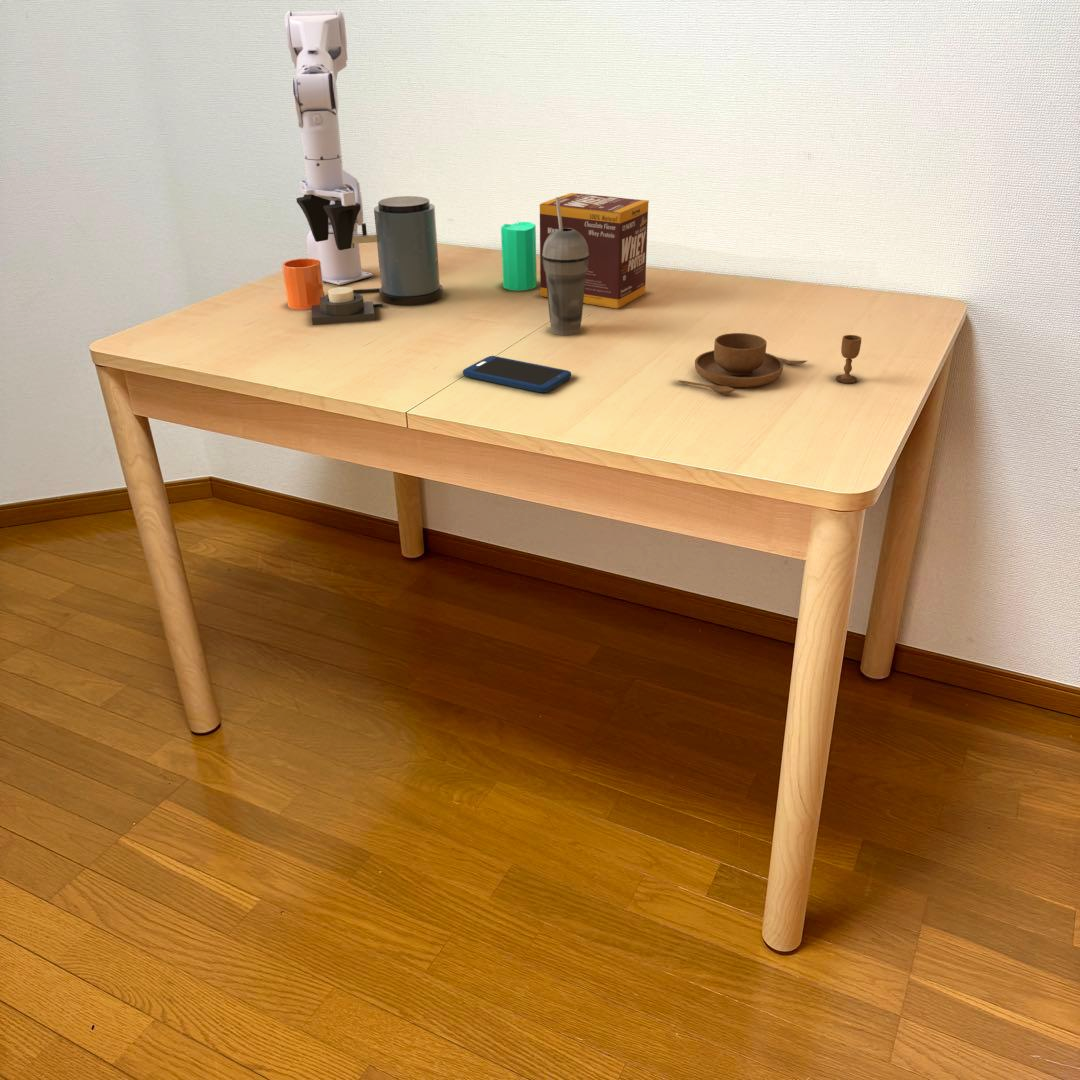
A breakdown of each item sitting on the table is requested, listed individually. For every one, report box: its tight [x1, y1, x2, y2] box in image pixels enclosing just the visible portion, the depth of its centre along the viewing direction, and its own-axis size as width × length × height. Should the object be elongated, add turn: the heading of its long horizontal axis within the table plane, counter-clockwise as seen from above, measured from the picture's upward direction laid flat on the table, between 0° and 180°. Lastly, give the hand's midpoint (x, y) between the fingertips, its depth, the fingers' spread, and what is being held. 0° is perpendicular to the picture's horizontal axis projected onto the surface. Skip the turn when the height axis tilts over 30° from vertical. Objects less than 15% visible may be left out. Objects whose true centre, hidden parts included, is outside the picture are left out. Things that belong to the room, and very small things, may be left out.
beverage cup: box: [541, 196, 590, 336], centre depth 153 cm, size 7×7×20 cm
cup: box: [281, 257, 326, 311], centre depth 171 cm, size 6×6×7 cm
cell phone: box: [462, 355, 572, 394], centre depth 141 cm, size 7×14×1 cm, turn 58°
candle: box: [500, 221, 538, 292], centre depth 177 cm, size 6×6×12 cm
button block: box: [311, 293, 376, 326], centre depth 166 cm, size 10×7×3 cm
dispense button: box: [327, 286, 354, 303], centre depth 165 cm, size 4×4×2 cm
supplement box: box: [539, 192, 650, 309], centre depth 171 cm, size 10×15×16 cm
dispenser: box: [351, 195, 444, 309], centre depth 171 cm, size 19×11×16 cm, turn 101°
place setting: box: [677, 332, 862, 394], centre depth 136 cm, size 18×20×6 cm
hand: (332, 244), depth 166 cm, fingers open, 7 cm apart
